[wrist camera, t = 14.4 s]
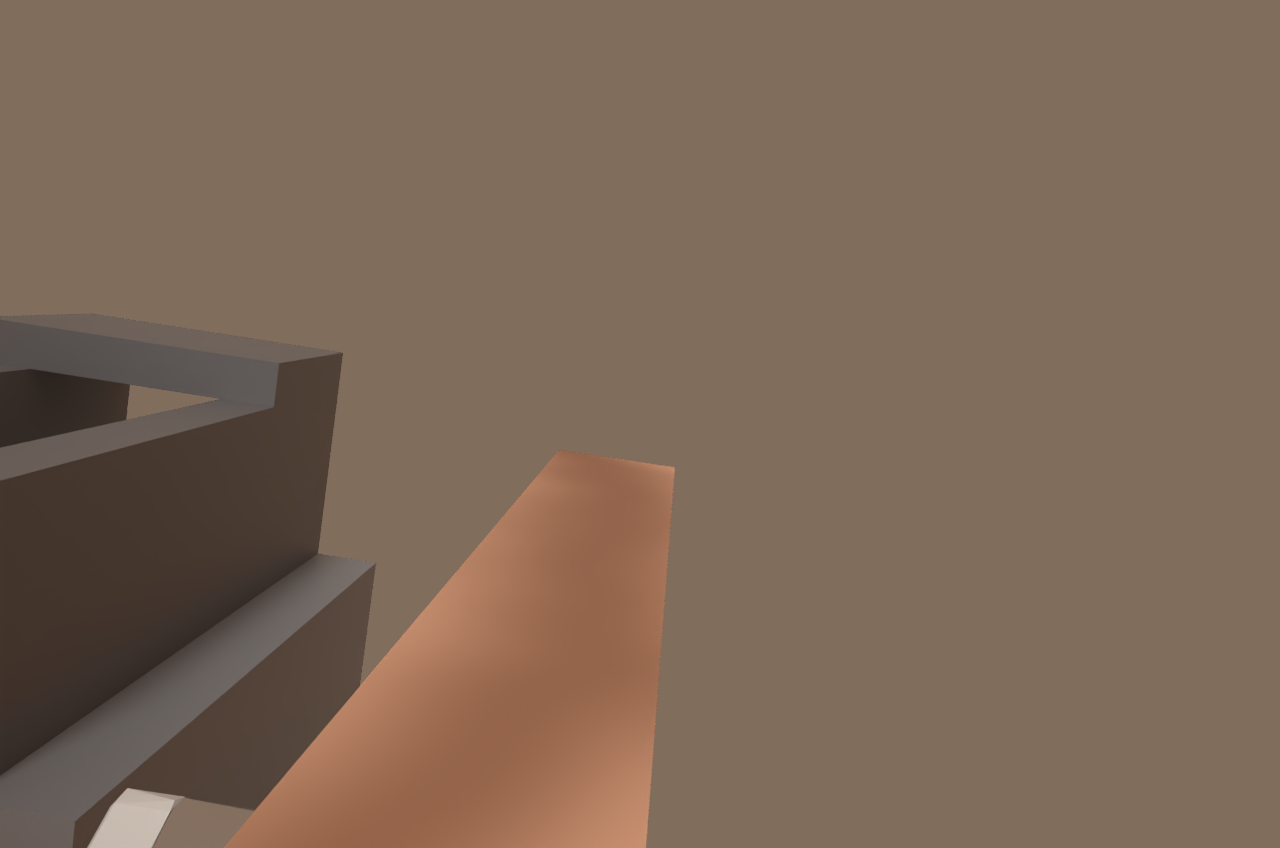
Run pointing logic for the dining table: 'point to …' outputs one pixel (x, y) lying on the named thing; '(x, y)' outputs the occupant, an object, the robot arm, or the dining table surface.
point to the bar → (507, 688)
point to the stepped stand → (163, 570)
